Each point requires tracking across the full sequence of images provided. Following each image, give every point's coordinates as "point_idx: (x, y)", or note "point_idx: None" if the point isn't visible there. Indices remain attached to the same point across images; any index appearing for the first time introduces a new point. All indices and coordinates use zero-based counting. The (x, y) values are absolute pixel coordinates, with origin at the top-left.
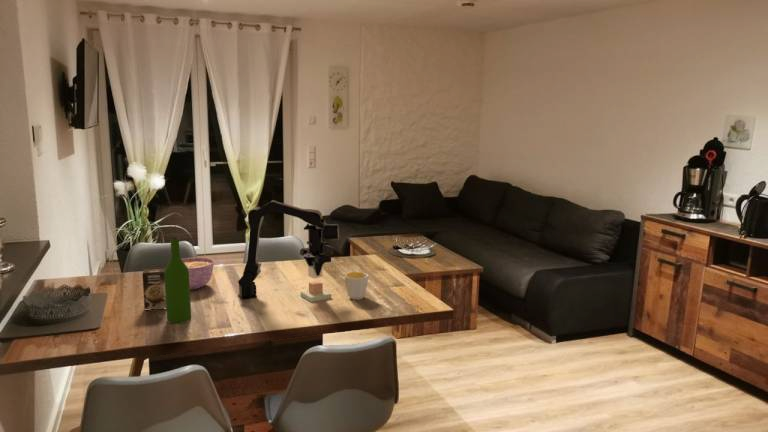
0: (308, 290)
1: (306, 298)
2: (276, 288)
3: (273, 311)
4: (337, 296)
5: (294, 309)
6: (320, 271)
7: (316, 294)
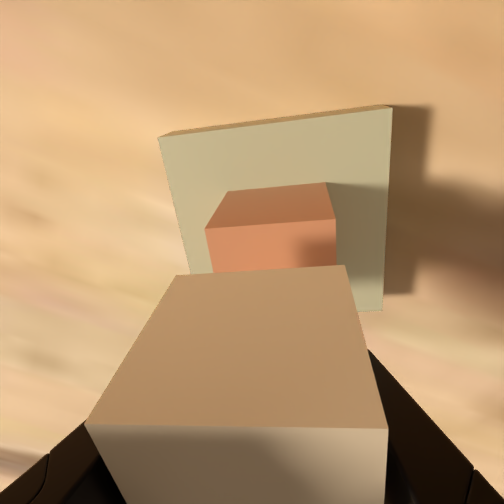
0: (193, 259)
1: None
2: (19, 352)
3: None
4: (366, 14)
5: (437, 406)
6: (411, 398)
7: None
